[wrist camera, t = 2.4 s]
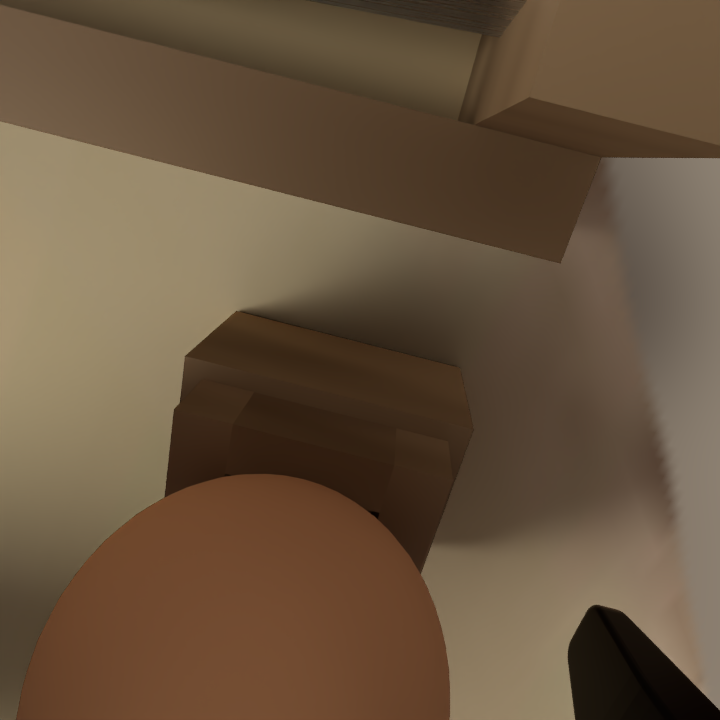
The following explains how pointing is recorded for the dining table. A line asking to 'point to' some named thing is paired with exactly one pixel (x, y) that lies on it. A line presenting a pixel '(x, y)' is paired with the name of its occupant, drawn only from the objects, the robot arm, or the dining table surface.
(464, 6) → the chute
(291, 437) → the brown square frame
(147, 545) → the ball
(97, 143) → the lane
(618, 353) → the dining table surface
